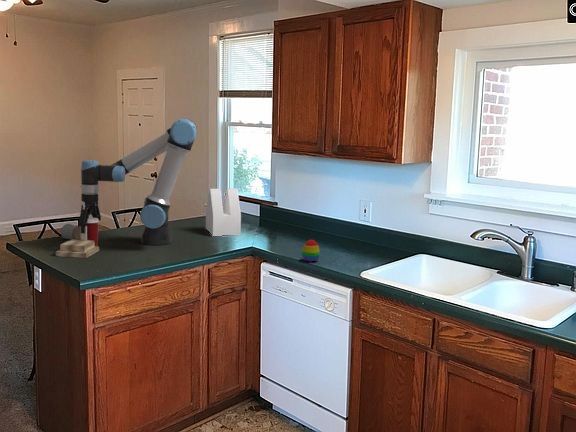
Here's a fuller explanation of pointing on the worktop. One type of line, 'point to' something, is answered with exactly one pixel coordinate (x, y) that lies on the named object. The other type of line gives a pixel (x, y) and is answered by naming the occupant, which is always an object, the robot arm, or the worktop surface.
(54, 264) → the worktop surface
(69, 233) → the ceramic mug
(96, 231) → the paper cup
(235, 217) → the white slotted block
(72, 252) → the maple pedestal
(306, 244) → the decorative egg
